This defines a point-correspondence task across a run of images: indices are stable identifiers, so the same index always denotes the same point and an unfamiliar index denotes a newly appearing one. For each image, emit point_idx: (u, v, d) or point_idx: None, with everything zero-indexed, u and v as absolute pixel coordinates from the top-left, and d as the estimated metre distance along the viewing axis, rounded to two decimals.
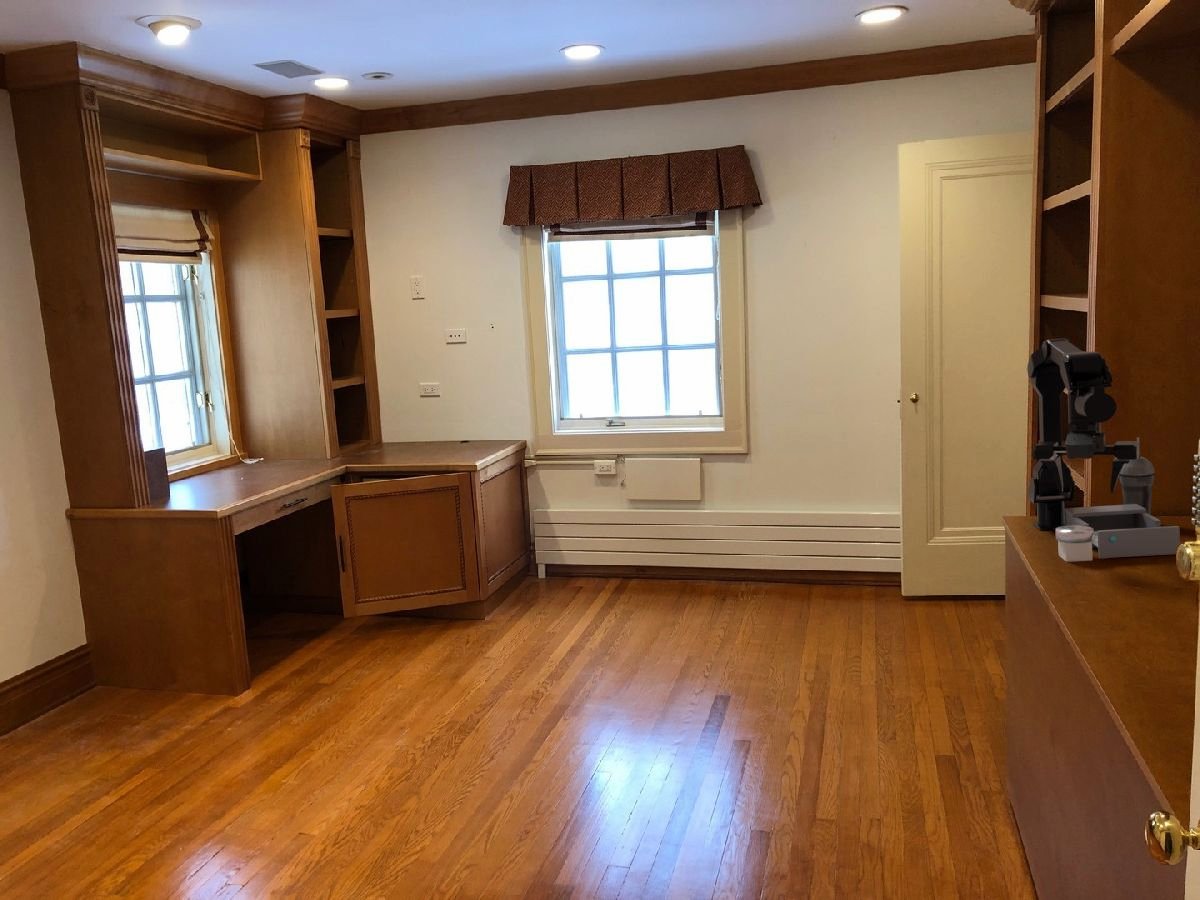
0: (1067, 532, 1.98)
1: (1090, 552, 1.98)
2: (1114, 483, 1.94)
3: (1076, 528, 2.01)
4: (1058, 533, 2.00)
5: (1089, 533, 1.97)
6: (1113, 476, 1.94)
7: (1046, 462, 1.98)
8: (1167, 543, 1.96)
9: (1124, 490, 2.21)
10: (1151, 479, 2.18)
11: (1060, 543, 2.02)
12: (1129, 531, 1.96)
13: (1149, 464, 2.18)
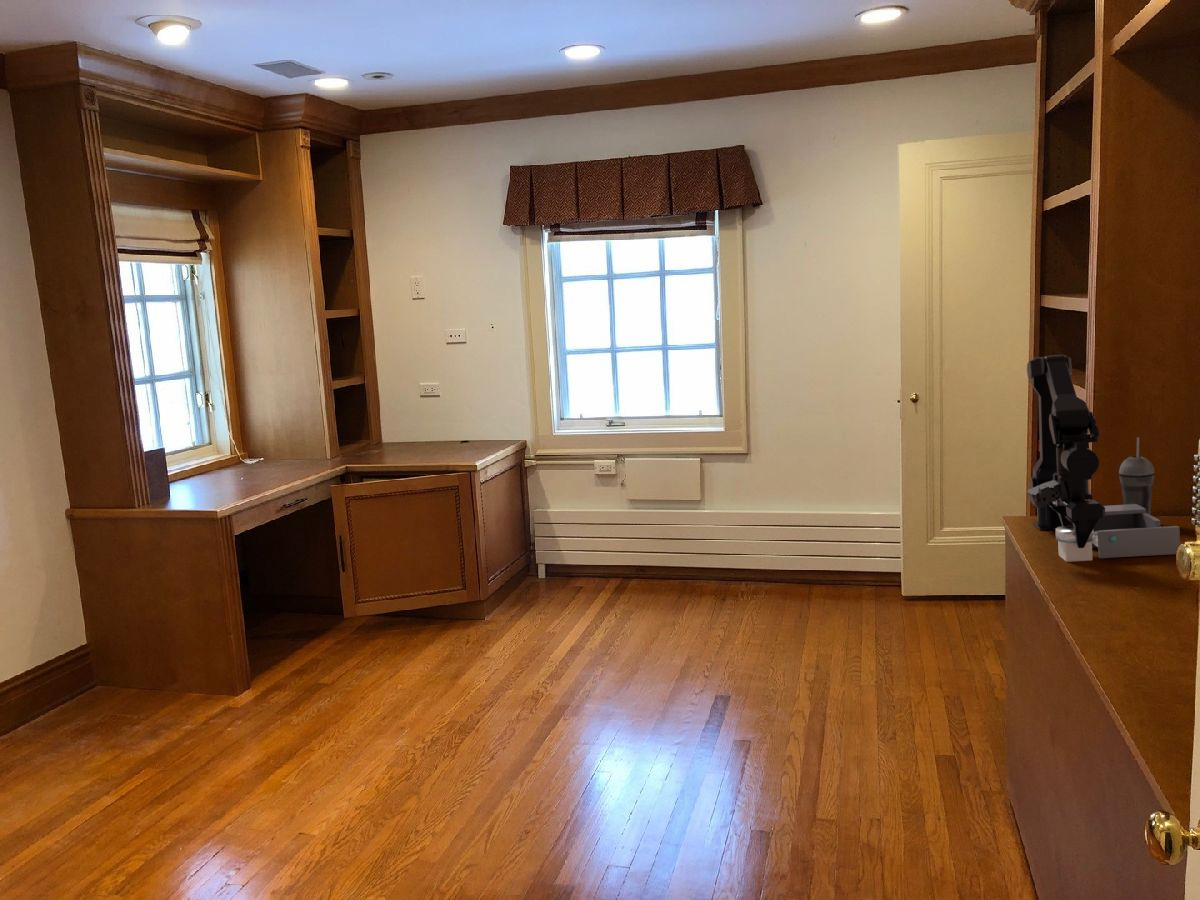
0: (1067, 532, 1.98)
1: (1090, 552, 1.98)
2: (1076, 538, 1.96)
3: None
4: (1057, 533, 2.00)
5: None
6: (1075, 530, 1.96)
7: (1050, 506, 2.06)
8: (1167, 543, 1.96)
9: (1124, 490, 2.21)
10: (1151, 479, 2.18)
11: (1060, 543, 2.02)
12: (1129, 531, 1.96)
13: (1149, 464, 2.18)
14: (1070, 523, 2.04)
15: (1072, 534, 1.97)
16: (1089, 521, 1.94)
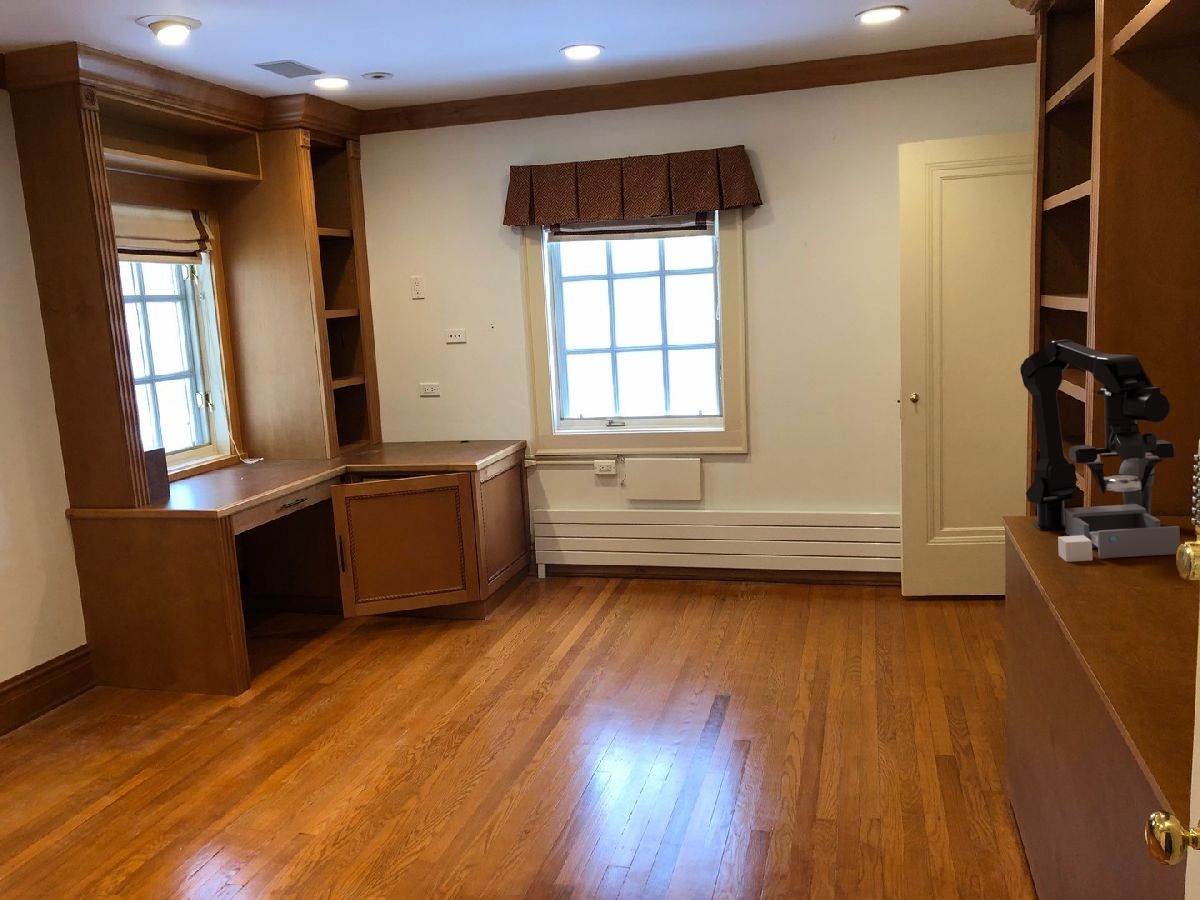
0: (1136, 479, 1.99)
1: (1090, 552, 1.98)
2: (1145, 482, 2.00)
3: (1117, 478, 2.03)
4: (1131, 483, 1.98)
5: None
6: (1144, 474, 2.00)
7: (1095, 465, 2.00)
8: (1167, 543, 1.96)
9: None
10: (1151, 479, 2.18)
11: (1060, 543, 2.02)
12: (1129, 531, 1.96)
13: None
14: None
15: None
16: None
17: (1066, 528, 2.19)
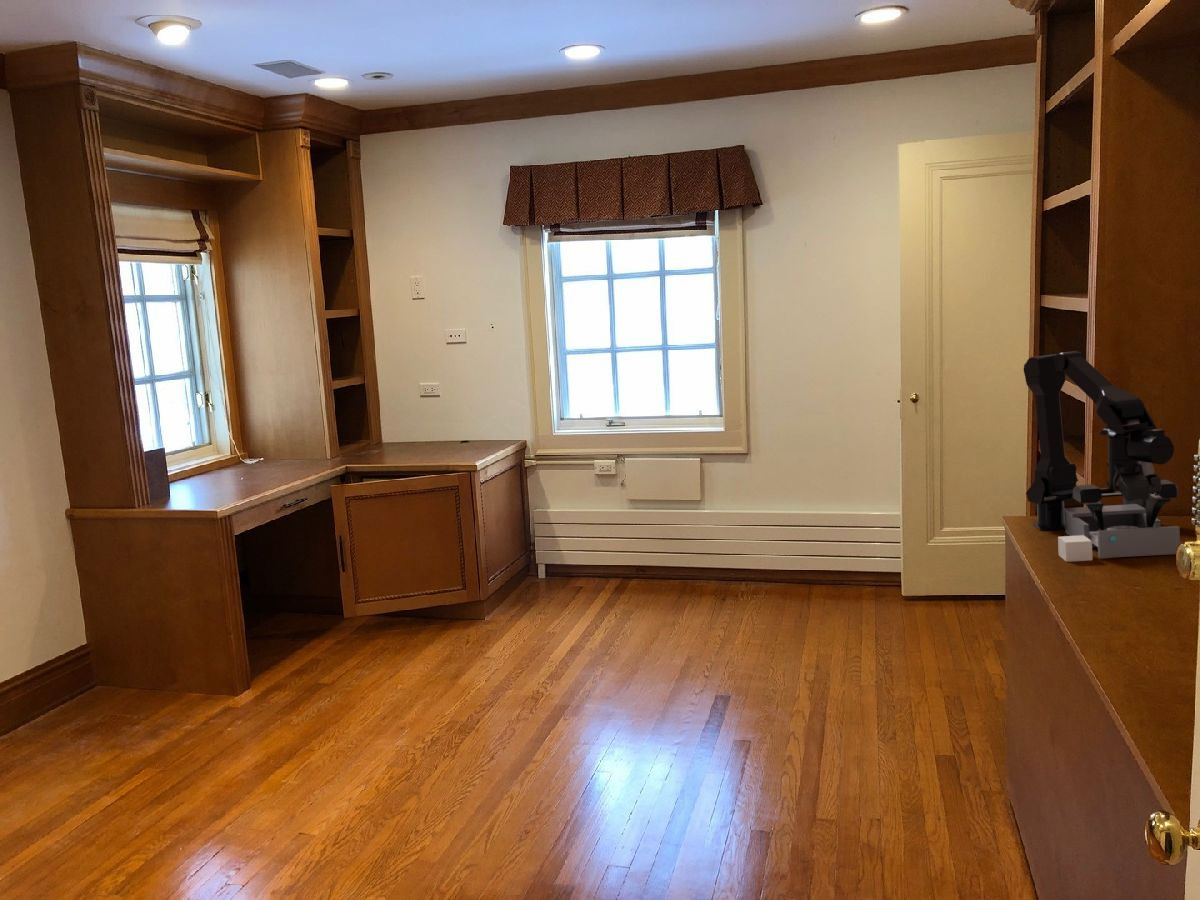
0: None
1: (1090, 552, 1.98)
2: (1154, 521, 2.02)
3: None
4: None
5: None
6: (1153, 514, 2.01)
7: (1094, 505, 2.01)
8: (1167, 543, 1.96)
9: None
10: None
11: (1060, 543, 2.02)
12: (1129, 531, 1.96)
13: (1149, 464, 2.18)
14: None
15: None
16: None
17: (1066, 528, 2.19)
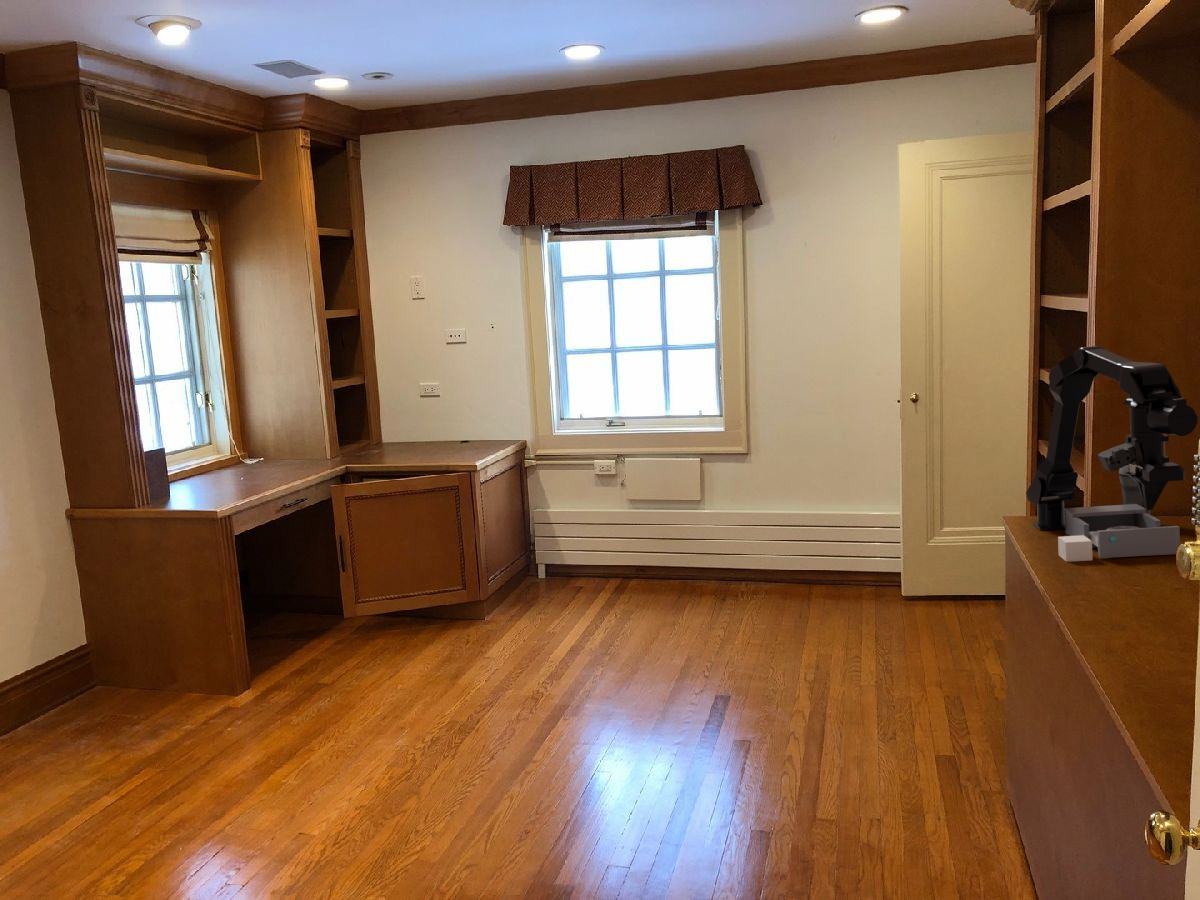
0: None
1: (1090, 552, 1.98)
2: (1145, 500, 1.89)
3: None
4: None
5: None
6: (1144, 492, 1.89)
7: (1128, 474, 1.92)
8: (1167, 543, 1.96)
9: (1124, 490, 2.21)
10: None
11: (1060, 543, 2.02)
12: (1129, 531, 1.96)
13: None
14: None
15: None
16: (1159, 481, 1.87)
17: (1066, 528, 2.19)
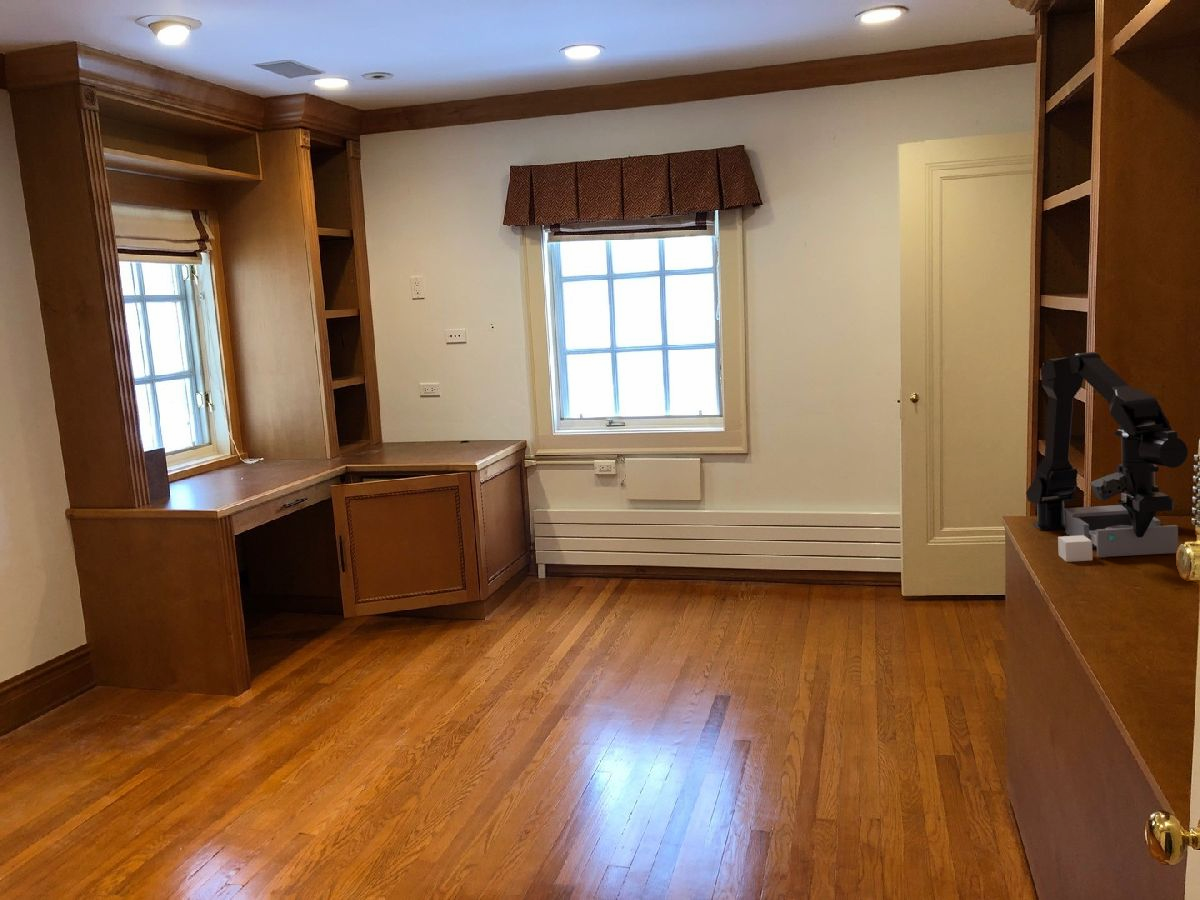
0: None
1: (1090, 552, 1.98)
2: (1135, 527, 1.95)
3: None
4: None
5: None
6: (1134, 520, 1.95)
7: (1119, 502, 1.98)
8: (1165, 542, 1.96)
9: None
10: None
11: (1060, 543, 2.02)
12: (1127, 530, 1.97)
13: None
14: None
15: None
16: None
17: (1066, 528, 2.19)
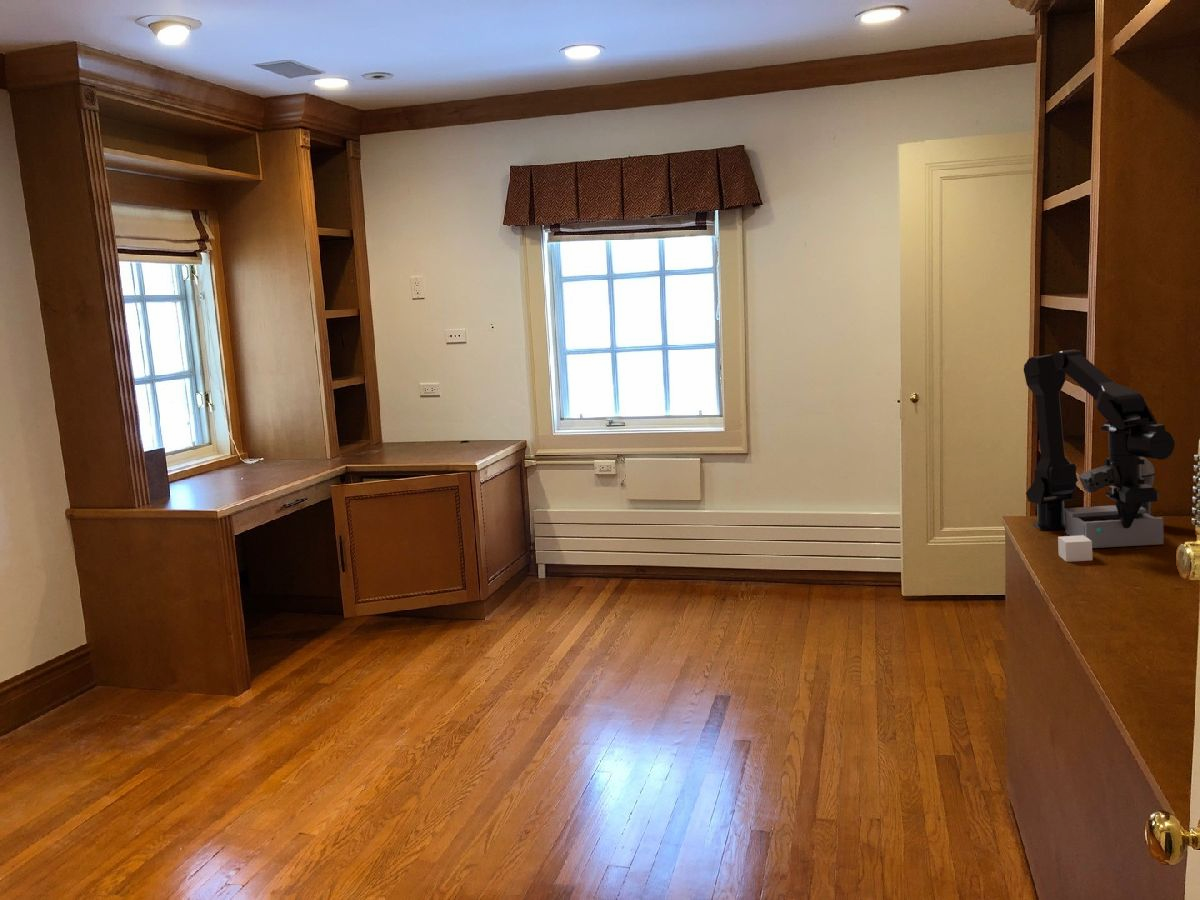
0: None
1: (1090, 552, 1.98)
2: (1122, 518, 2.02)
3: None
4: None
5: None
6: (1121, 511, 2.02)
7: None
8: (1151, 534, 2.03)
9: None
10: (1151, 479, 2.18)
11: (1060, 543, 2.02)
12: (1115, 522, 2.04)
13: (1149, 464, 2.18)
14: None
15: None
16: None
17: (1066, 528, 2.19)
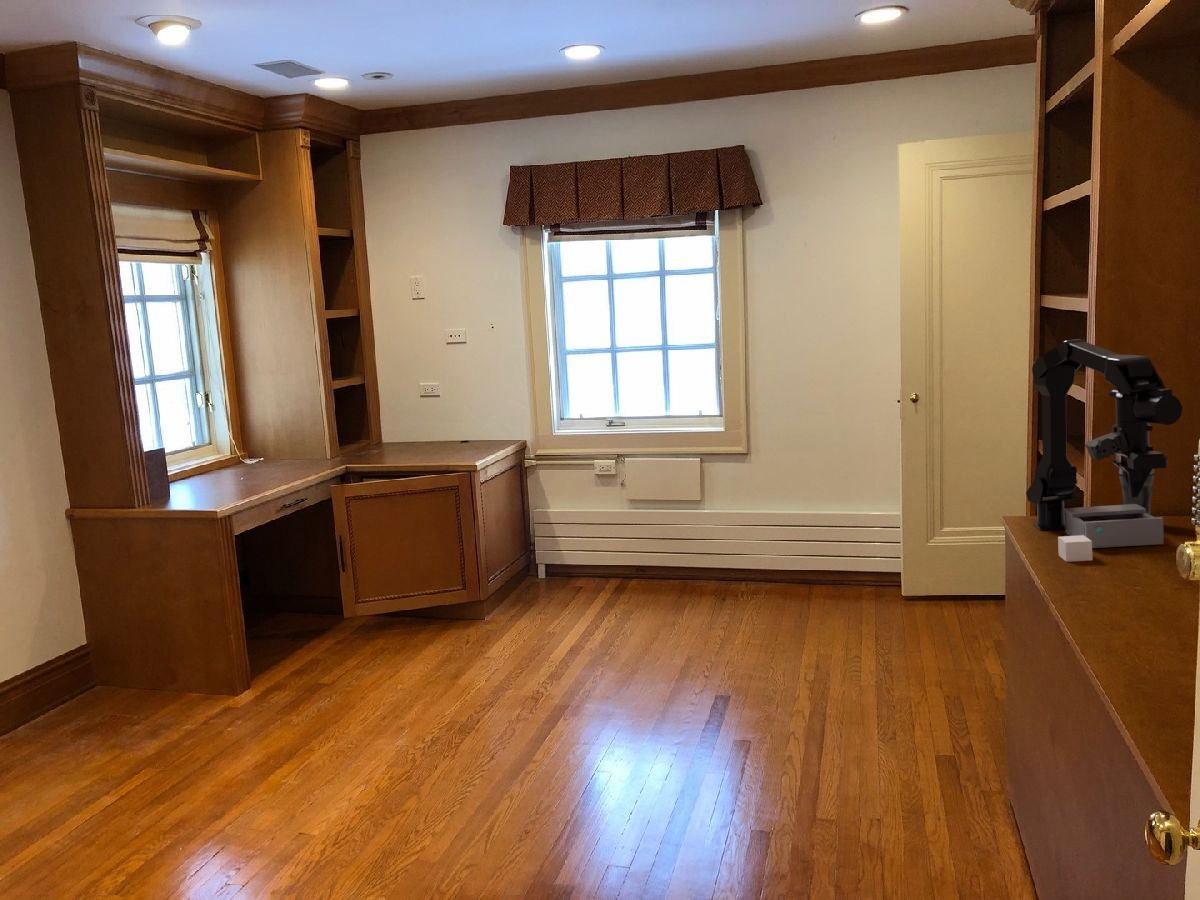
0: None
1: (1090, 552, 1.98)
2: (1130, 487, 1.97)
3: None
4: None
5: None
6: (1129, 479, 1.97)
7: (1114, 463, 1.99)
8: (1151, 534, 2.03)
9: (1124, 490, 2.21)
10: (1151, 479, 2.18)
11: (1060, 543, 2.02)
12: (1115, 522, 2.04)
13: None
14: None
15: None
16: (1143, 469, 1.95)
17: (1066, 528, 2.19)
